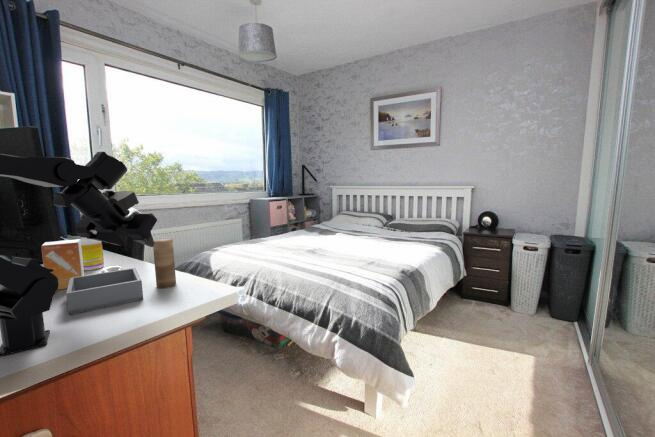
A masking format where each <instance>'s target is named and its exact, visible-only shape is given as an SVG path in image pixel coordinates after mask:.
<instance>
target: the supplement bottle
mask: <svg viewBox="0 0 655 437" xmlns="http://www.w3.org/2000/svg"><path fill="white" fill-rule="evenodd" d="M80 238H81V249H82V258H83V267H84V271H93V270H94V271H95V270H98V269H103V268H104V267H105V261H104V252H103V243H102V241H97V240H93V239H88V238H86V237H80Z"/></svg>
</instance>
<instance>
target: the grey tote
mask: <svg viewBox="0 0 655 437" xmlns="http://www.w3.org/2000/svg"><path fill="white" fill-rule="evenodd" d="M65 295H66V302H67V308H68V315H75V314H80V313H84V312H88V311H94V310H99V309H105V308H108V307H109V308H110V307H113V306H118V305H123V304H128V303H133V302H137V301H142V300H144V291H143V281H142V279H141V277H140V274H139V272H138V270H137V269H136V267H131V268H124V269H122V270H111V271H108V272H104V273H102V272H99V273H93V274H92V273H91V274H87V275H85V274H84V276H79V277H72V278H70V280H69V284H68V288H66V294H65Z"/></svg>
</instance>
